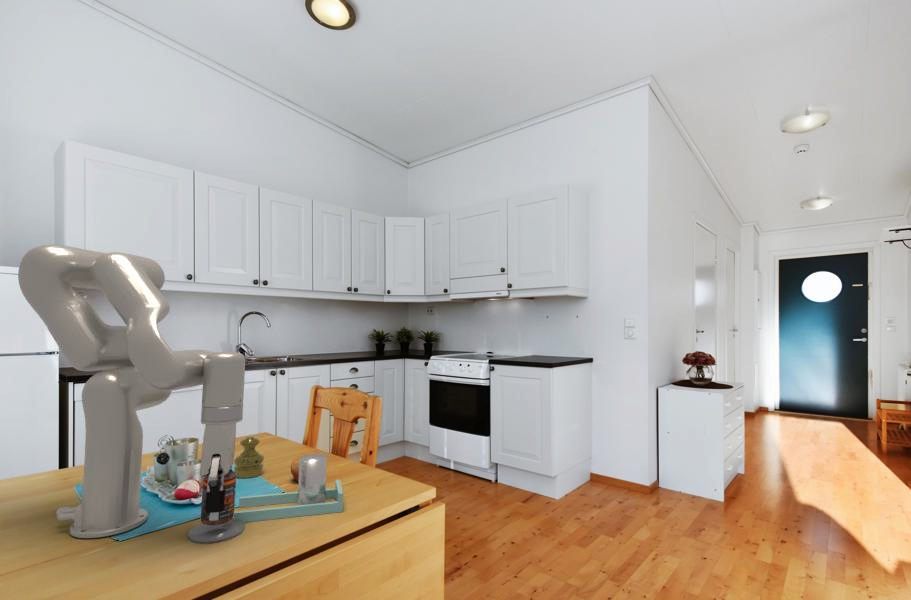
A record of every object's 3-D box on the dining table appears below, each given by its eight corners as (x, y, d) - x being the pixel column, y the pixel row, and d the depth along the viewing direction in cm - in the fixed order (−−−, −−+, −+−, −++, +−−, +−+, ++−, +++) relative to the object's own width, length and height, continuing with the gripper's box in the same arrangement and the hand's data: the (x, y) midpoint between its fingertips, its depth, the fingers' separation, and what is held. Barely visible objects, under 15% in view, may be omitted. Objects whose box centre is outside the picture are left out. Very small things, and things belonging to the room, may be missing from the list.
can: (297, 513, 101) (299, 462, 101) (297, 503, 106) (299, 454, 107) (325, 510, 103) (327, 460, 103) (324, 500, 108) (326, 453, 109)
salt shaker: (227, 477, 123) (229, 439, 124) (245, 469, 130) (247, 433, 131) (251, 479, 122) (253, 441, 122) (268, 471, 129) (270, 435, 129)
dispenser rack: (233, 523, 95) (234, 503, 95) (239, 505, 104) (240, 487, 104) (342, 511, 102) (343, 493, 102) (339, 496, 111) (339, 479, 111)
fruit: (333, 471, 125) (322, 449, 122) (313, 494, 119) (301, 471, 116) (313, 466, 129) (302, 444, 126) (293, 488, 124) (280, 465, 120)
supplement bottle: (220, 528, 88) (223, 468, 89) (193, 525, 89) (196, 465, 90) (240, 515, 94) (243, 459, 94) (215, 512, 95) (217, 457, 96)
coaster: (182, 546, 85) (182, 543, 85) (194, 524, 94) (194, 521, 94) (241, 539, 88) (241, 536, 88) (247, 518, 98) (247, 515, 98)
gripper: (209, 406, 100) (205, 491, 99) (191, 423, 83) (186, 525, 82) (247, 405, 102) (243, 488, 101) (237, 421, 86) (232, 520, 85)
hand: (217, 504), depth 92 cm, fingers closed on supplement bottle, 6 cm apart
